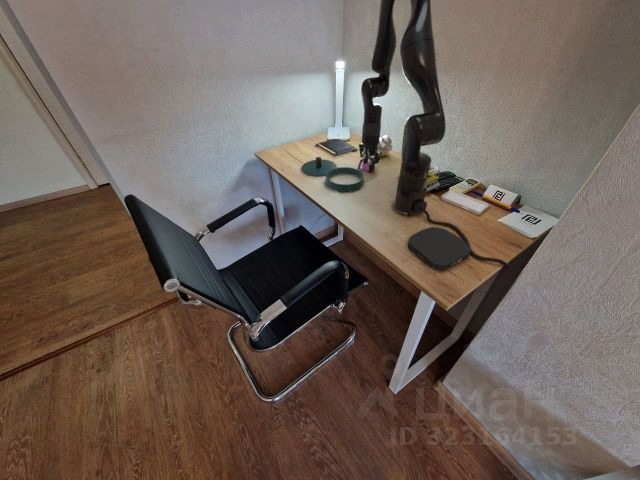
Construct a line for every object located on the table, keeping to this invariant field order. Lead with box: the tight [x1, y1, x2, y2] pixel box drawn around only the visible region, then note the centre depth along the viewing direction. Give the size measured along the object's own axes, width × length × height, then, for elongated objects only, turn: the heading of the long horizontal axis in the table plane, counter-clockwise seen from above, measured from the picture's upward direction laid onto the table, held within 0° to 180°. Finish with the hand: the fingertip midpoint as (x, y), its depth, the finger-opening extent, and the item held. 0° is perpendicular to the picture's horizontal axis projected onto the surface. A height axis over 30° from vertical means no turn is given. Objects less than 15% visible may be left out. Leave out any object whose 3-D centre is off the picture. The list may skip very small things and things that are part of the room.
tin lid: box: [301, 156, 338, 177], centre depth 124 cm, size 17×17×6 cm
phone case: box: [440, 189, 490, 216], centre depth 98 cm, size 7×1×15 cm
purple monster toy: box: [357, 158, 373, 172], centre depth 120 cm, size 7×5×9 cm
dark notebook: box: [315, 138, 358, 157], centre depth 143 cm, size 20×2×15 cm
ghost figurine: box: [377, 135, 393, 157], centre depth 130 cm, size 9×10×10 cm
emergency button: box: [425, 172, 441, 193], centre depth 111 cm, size 9×4×15 cm
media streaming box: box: [407, 226, 471, 271], centre depth 80 cm, size 15×15×3 cm
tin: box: [325, 166, 365, 194], centre depth 114 cm, size 16×16×4 cm
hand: (368, 169), depth 121 cm, fingers open, 4 cm apart
